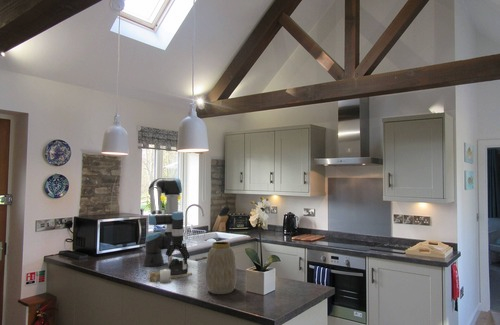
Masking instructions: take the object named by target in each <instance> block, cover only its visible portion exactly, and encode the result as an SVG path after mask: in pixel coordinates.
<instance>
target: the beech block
mask: <svg viewBox="0 0 500 325" xmlns="http://www.w3.org/2000/svg"><path fill="white" fill-rule="evenodd" d="M148 276H149V280H148V281H149V282H152V281H153V283H157V282H160V271H152V272H149V275H148Z"/></svg>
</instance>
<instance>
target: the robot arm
mask: <svg viewBox="0 0 500 325" xmlns="http://www.w3.org/2000/svg"><path fill="white" fill-rule="evenodd" d="M182 188H183V186H182V183H181V179H180V178H176V177H165V178H164V177H163V178H162V177H159V178H156V179H154V180H152V182H151V183H150V184H149V186H148V189H147V190H148V195H149V197H150V198H149V200H150V203H149V204H150V214H148V217H147V220H148V225H149V226H164V225H165V226H166V229H165V231H164V233H162V232H160V231H156V232H151V233H147V235H146V236H145V241H144V242H145V256H144V258H143V259H144V260H143V262H142V266H144V267H149V268H151V267H152V268H153V267H159V266H163V265H165V260H164V257H163V254H162V252H163V250H164V251H165V256H167V261H168V263H167V265H168V266H169V264H170V263H171V262H172V259H173V253H174V252H175V251H176V250H178V251H179V253H180V254H181V256H182V261H183V270H184V269H187V264H188V260H189V259H190V258H191V257H190V254H189V251H188V248H187V243H185V242H184V243H183V241H184V218H185V217H184V216H185V215H184V212H183V211H179V199H178V198H179V197H180V195H181V193H183V192H182V191H183V189H182ZM162 194H164V197H166V213H163V209H162V208H163V207H162Z"/></svg>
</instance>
